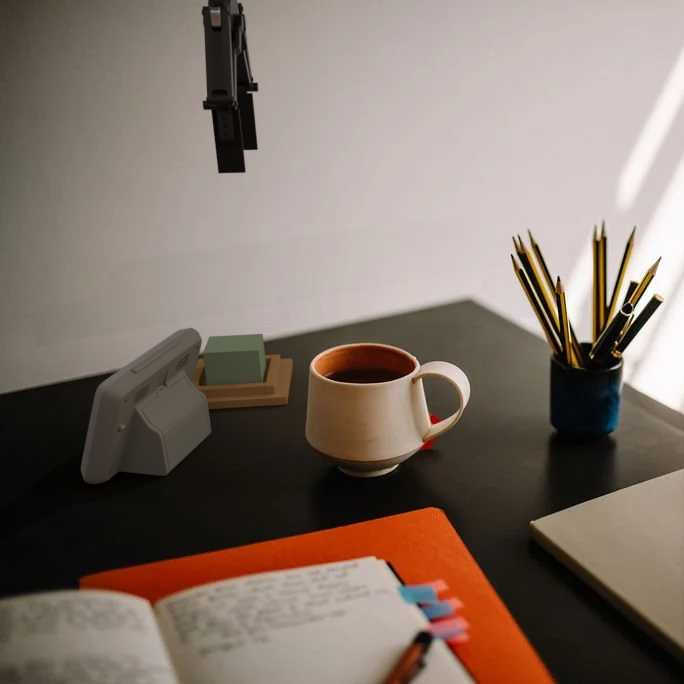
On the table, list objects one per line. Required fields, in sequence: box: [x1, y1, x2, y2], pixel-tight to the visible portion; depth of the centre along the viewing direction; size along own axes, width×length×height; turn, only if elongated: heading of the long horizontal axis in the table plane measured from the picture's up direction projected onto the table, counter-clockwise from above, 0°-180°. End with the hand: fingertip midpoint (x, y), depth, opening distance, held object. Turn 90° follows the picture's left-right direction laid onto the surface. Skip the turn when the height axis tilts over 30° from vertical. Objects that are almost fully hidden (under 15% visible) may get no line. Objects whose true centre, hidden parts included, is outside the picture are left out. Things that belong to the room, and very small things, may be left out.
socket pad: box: [192, 354, 294, 410], centre depth 104 cm, size 12×11×2 cm
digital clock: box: [80, 327, 212, 485], centre depth 88 cm, size 16×9×11 cm, turn 158°
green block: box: [202, 333, 266, 386], centre depth 103 cm, size 6×5×4 cm
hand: (239, 160), depth 102 cm, fingers open, 13 cm apart
